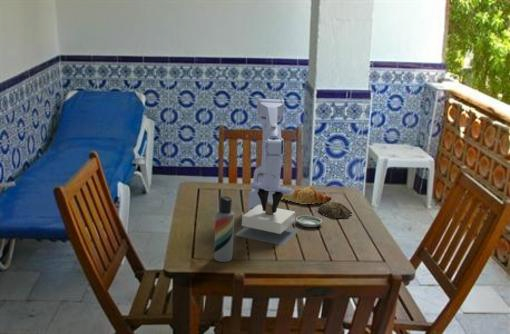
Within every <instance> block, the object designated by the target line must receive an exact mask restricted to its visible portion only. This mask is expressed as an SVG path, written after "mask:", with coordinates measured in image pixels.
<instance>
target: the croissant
mask: <svg viewBox="0 0 510 334" xmlns="http://www.w3.org/2000/svg"><path fill="white" fill-rule="evenodd" d="M282 198H283V199H285V200H284V201H286V200H288V201H287V202H289V201H292V202H296V203H310V204H312V203H313V205H315V204H314V203H323V204H324V203H325V202H327V203H328V202H332V201H331V200H332V196H331V195H327V194H325V193H321V192H320V191H319V190H315V189H314V188H313V187H311V186H307V187H303V188H300V189H299V188H298V189H297V188H296V189H294V190H292V194H291V195H290V196H289V195H287V194H284V195H283V196H282ZM282 198H281V199H282ZM283 199H282V200H283ZM292 202H291V203H292ZM296 203H295V204H296Z"/></svg>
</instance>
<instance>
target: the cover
mask: <svg viewBox="0 0 510 334" xmlns="http://www.w3.org/2000/svg"><path fill="white" fill-rule="evenodd" d="M272 208H273V202H266V207H265V211H263V208H262V205H257V206H256V207H254V208H253V209H251V210H250V211H249V210H248V211H247V212H246V213H244V214H242V216H241V226H242V227H250V228H255V229H260V230H264V231H269V232H274V233H278V234H281V233H282V232H283V231H284V230H285V229H286V228H288V227H290V226H291V225H292V224H294V222H295V221H296V211H294V210H290V209H285V208H278V207H277V211H276V212H275V213H272Z"/></svg>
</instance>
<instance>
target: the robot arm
mask: <svg viewBox="0 0 510 334" xmlns="http://www.w3.org/2000/svg"><path fill="white" fill-rule="evenodd" d="M256 102H257V103H256V118H257V119H256V120H257V122H260V123H261V125H262V141H261V142H262V143H261V145H262V146H261V165H260V166H259V167H257V168H255V169H254V171H253V181H252V182H250V189H251V190H250V193H249V197H248V212H249V211H250V210H251V209H253V208H254V207H256V206H257V205H262V208H263V211H265V207H266V202H273V208H272V213H275V212H276V211H277V208H278V206H279V204H280V202H281V200H282V196H283V195H284V194H287V195H289V196H290V195H291V194H292V191H293V188H290V187H286V186H284V185H280V184H281V168H282V157H283V156H284V151H285V141H284V138H283V137H282V130H281V126H280V125H278V123H279V122H281V121H282V119H283V115H284V114H285V113H284V112H285V101H284V99H276V98H275V99H274V98H260V97H259V98H258V99H257V101H256Z"/></svg>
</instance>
